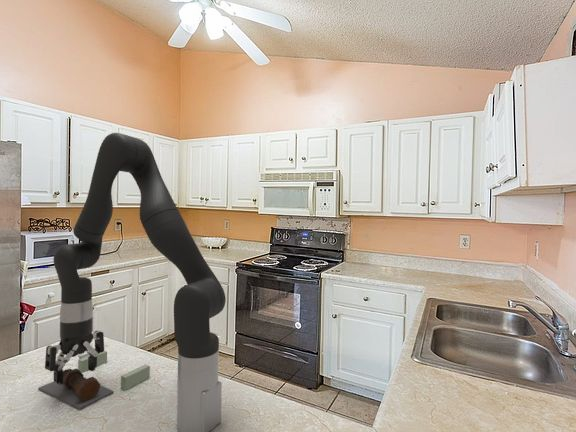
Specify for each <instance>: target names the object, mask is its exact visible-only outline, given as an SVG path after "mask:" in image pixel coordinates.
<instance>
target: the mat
mask: <svg viewBox="0 0 576 432" xmlns="http://www.w3.org/2000/svg"><path fill="white" fill-rule="evenodd" d="M37 389H38V391H39V392H42V393H44V394H46V395H48V396H50V397H52V398H54V399H56V400H58V401H60V402H62V403H64V404H65V405H68V406H70V407H72V408H73V409H76V410H78V411H81V410H83V409H85V408H87V407H89V406H91V405H93V404H95V403H97V402H99V401H101V400H103V399H105V398H107V397H108V396H110V395H113V394H114V393H115V391H114V390H112V389H110V388H108V387H105V386H103V385H101V386H100V389H99V391H98V393H97V395H96V396H95V397H94V398H93V399H91V400H88V401H85V402H82V401H81V400H80V399H79V398H78V397H77V396H76V394H75V391H76V390H75V389H74V388H70V389H68V388H67V387H66V386H65V385H64V384H61V385H59V384H56V383H55V382H54V381H51V382H48V383H47V384H44V385H41V386H39V387H38V388H37Z"/></svg>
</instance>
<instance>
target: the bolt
mask: <svg viewBox="0 0 576 432" xmlns="http://www.w3.org/2000/svg"><path fill="white" fill-rule="evenodd" d="M63 384H64V385H65V386H66V387H67V388H68V389H70V388H74V389H75V390H76V391H75V394H76V396H77V397H78V398H79V399H80V400H81V401H82V402H85V401H88V400H91V399H93V398H94V397H95V396H96V395H97V393H98V391H99V389H100V386H102V385H101V383H100V382H99V381H98V380H97V378H96V377H94V376H91V377H88V378H86V377H84V374H83V372H80V371H79V370H78V368H73V369H71V368H68V369H63Z"/></svg>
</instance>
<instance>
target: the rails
mask: <svg viewBox="0 0 576 432" xmlns="http://www.w3.org/2000/svg"><path fill="white" fill-rule="evenodd" d="M89 356H90V355H89V354H88V353H86V354H85V353H83V354H78V355H77V357H78V359H77V360H78V361H77V362H78V364H77V365H78V366H77V369H78V370H79V371H80V372H81V373H85V372H87V371H90V370H89V369H88V357H89ZM106 363H108V351H106V350H104V352H102V353H99V354H98V356H97V367H100V366H102V365H104V364H106ZM150 375H151V366H150V365H148V364H143V365H141V366H139V367H137V368H135V369H133V370H130V371H129V372H127V373H124V374H122V375H120V389H121V390H123V391H127V390H129V389H131V388H133V387H135V386H137V385H138V384H140V383H142V382H144V381H147V380H149V379H150V377H151V376H150Z"/></svg>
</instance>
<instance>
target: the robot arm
mask: <svg viewBox="0 0 576 432" xmlns="http://www.w3.org/2000/svg"><path fill="white" fill-rule="evenodd" d="M120 172H123V173H129V174H130V175H131V176H132V178H133V179H134V181H135V183H136V185H137V187H138V190H139V192H140V201H139V203H140V204H139V220H140V224H141V225H142V227H143V229H144V232H145V234H146V235H147V237H148V239H149V241H150V243H151V244H152V245H153V247H154V248H155V249H156V250H157V251H158V252H159V253H161V255H162V256H164V257H165V258H166V259H167V260H169V262H171V263H172V264H173V265H174V266H175V267H176V268H177V269H178V271H179V272H180V273H181V274H182V277H183V278H184V280H185V282H186V285H183V286H181V287H180V288H179V289H178V290H177V292H176V294H175V296H174V301H173V328H174V339H175V342H176V344H177V383H176V384H177V387H176V389H177V390H176V397H177V398H176V428H177V431H178V432H211V431H212V430H213V429H214V428H215V427H216V426H217V425H218V424H220V423H221V422H222V388H223V385H222V381H219V362H220V361H219V359H220V358H219V356H220V353H219V352H220V350H219V349H220V340H219V337H218V335H217V334H215V333H213V332H211V330H210V329H211V328H210V326H211V325H210V319H211V318H214V317H215V316H217V315H220V313H221V312H222V311H223V310H224V308H225V305H226V303H227V302H226V294H225V291H224V287H223V285H222V284H221V283H220V281H219V279H218V277H217V276H216V275H215V273H214V272H213V270H212V268H211V267H210V266H209V264H208V263H207V261H206V259H205V258H204V257H203V255H202V253H201V251H200V249H199V247H198V246H197V245H198V244H196V242H195V240H194V238H193V236H192V234H191V232H190V230H189V228H188V227H187V226H188V225H187V224H186V222H185V220H184V217H183V216H182V214H181V212H180V210H179V209H178V207H177V204H176V203H175V202H174V201H175V200H174V199H173V198H172V195H171V193H170V191H169V189H168V187H167V185H166V184H165V181H164V179H163V177H162V175H161V172H160V170H159V167H158V164H157V161H156V159H155V156H154V154H153V151H152V149H151V148H150V146H149V144H148V143H147V142H145V141H144V140H143V139H140V138H137V137H134V136H131V135H127V134H124V133H121V132H111V133H109V134H108V135H107V136H105V137H104V138H103V140H102V142H101V144H100V147H99V149H98V152H97V156H96V160H95V164H94V169H93V172H92V176H91V181H90V185H89V190H88V193H87V197H86V199H85V203H84V205H83V207H82V210H81V212H80V214H79V216H78V218H77V220H76V223H75V225H74V227H73V235H74V236H75V237H76V239H78V240H80V241H81V242H79V243H69V244H68V243H67V244H63V245H60V246H59V247H57V249H56V251H55V252H54V254H53V264H54V268H55V271H56V275H57V278H58V280H59V285H60V288H61V291H60V292H61V293H60V295H61V296H60V297H61V299H60V309H59V338H60V341H59V343H58V344H55V345H46V349H45V361H44V369H45V370H47V371H49V372H53V382H55V383H56V384H59V385H61V384H63V371H64V367H65V366H66V365H67V363H68V362H69V361H70V360H71V358H74V357H76V356H77V357H78V355H79V354H85V352H86V354H89V355H90V356H89V357H88V369H89V370H88V371H90V372H94V371H96V368H97V367H98V366H97V356H98V354H99V353H102V352H104V351H105V338H104V337H105V336H104V332H103V331H100V330H95V331H94V332H93V329H94V328H93V327H94V325H93V324H94V323H93V322H94V320H93V319H94V306H93V284H92V282H93V281H92V280H91V278H89V277H83V276H82V277H81V276H80V275H79V273H78V270H83V269H89V268H92V267H93V266H95V265H96V264H97V262H98V261H99V260H100V257H101V253H102V252H101V251H102V245H103V238H104V237H103V236H104V234H105V232H106V230H107V228H108V226H109V224H110V222H111V219H112V216H113V214H114V213H113V212H114V211H113V210H114V208H113V207H114V203H113V196H112V189H113V183H114V181H115V180H116V177H117V176H118V174H119V173H120ZM93 341H94V347H93V346H92V345H91V343H92V342H93ZM59 350H60V352H59ZM57 354H58V355H57Z"/></svg>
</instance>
